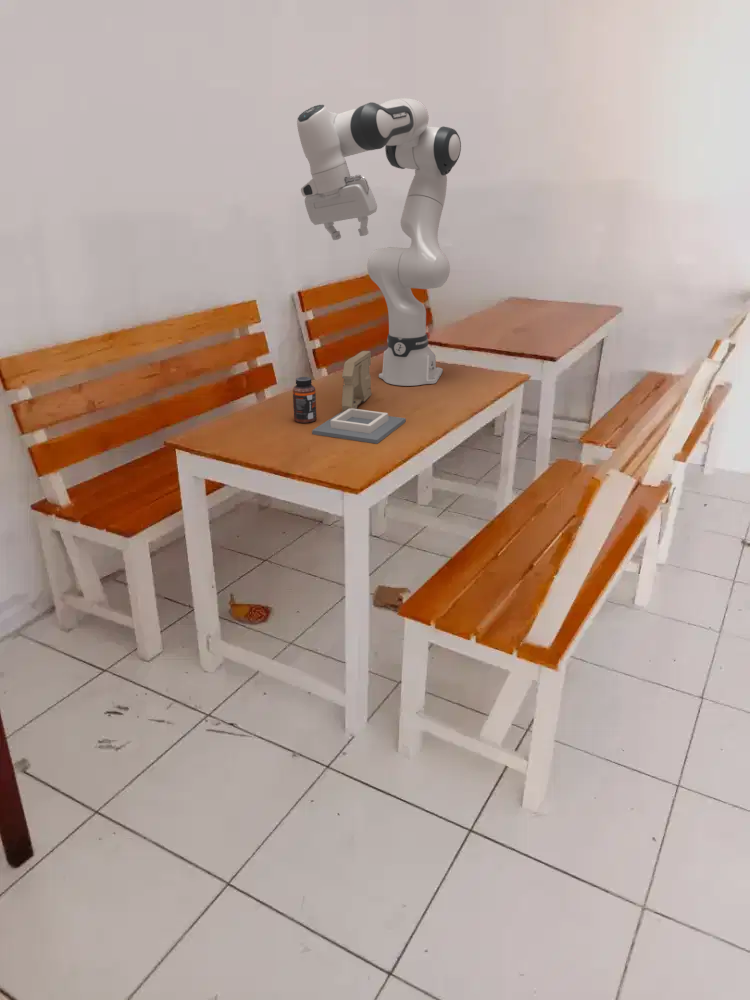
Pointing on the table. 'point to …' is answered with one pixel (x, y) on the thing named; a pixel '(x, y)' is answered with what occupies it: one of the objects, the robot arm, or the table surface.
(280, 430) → the table surface
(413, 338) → the robot arm
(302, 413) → the supplement bottle
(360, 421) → the holder
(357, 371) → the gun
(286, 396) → the table surface
